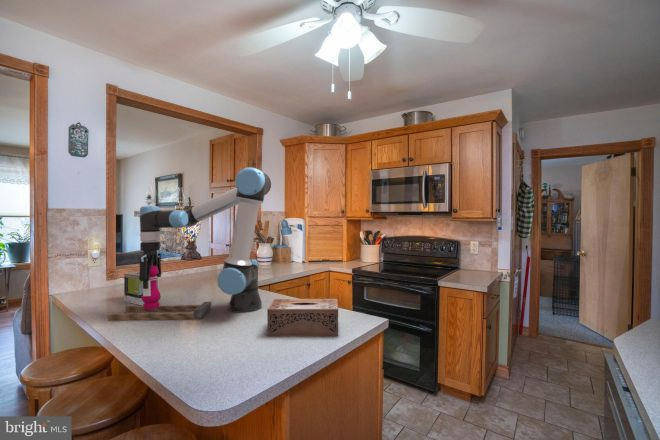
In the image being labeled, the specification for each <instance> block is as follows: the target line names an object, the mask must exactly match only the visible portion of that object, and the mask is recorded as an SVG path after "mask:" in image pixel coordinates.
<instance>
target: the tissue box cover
mask: <svg viewBox="0 0 660 440" xmlns="http://www.w3.org/2000/svg"><path fill="white" fill-rule="evenodd" d="M338 302H339V300H338V298H273V301H272V302H271V303H270V305H269V307H268V308H267V311H266V314H267V319H266V320H267V324H266V327H267V330H266V331H267V337H339V303H338Z"/></svg>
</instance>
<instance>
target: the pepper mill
mask: <svg viewBox="0 0 660 440" xmlns="http://www.w3.org/2000/svg"><path fill="white" fill-rule="evenodd" d="M158 272H159V270H158V268H157V267H156V266H153V264H152V265H151V270H150V277H149V281H150V290H151V296H143V295H142V301H143V302H144V303H145V304H143V305H142V306H143V309H155V308H158V307H159V306H161V305H160V299H161V292H160V290H158V288H157V285H156V280H157V276H156V275H157V274H158Z"/></svg>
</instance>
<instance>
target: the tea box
mask: <svg viewBox="0 0 660 440" xmlns="http://www.w3.org/2000/svg"><path fill="white" fill-rule="evenodd" d="M139 276H140V270H139V271H132V272H126V273H124V275H123V277H124V280H123V281H124V282H123V283H124V292H123V293H124V296H123V297H124V302H126V303H129V304H134V305H136V306H143V304H145V303H144V302H143V301H142V295H143V281H140V280H139Z"/></svg>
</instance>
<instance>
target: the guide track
mask: <svg viewBox="0 0 660 440" xmlns="http://www.w3.org/2000/svg"><path fill="white" fill-rule="evenodd" d="M211 311H212V301H204V302H202V303H201V304H191V305H190V304H188V305H187V304H184V305H183V304H182V305H180V304H177V305H173V304H172V305H160V306H159V307H158V308H155V309H143V305H127V306H124V313H110V314H109V313H108V315H107V321H108V322H115V321H118V322H120V321H123V322H124V321H127V322H128V321H181V320H182V321H185V320H186V321H187V320H188V321H189V320H190V321H191V320H193V321H194V320H199V321H200V320H202V319H204V318H205V316H207V315H208V314H209V313H210V312H211Z"/></svg>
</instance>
